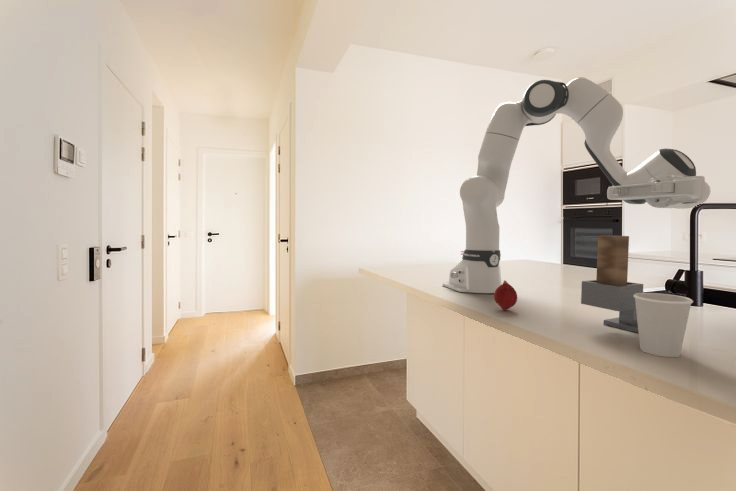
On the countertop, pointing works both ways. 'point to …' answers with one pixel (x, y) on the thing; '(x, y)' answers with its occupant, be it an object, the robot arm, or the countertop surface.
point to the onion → (505, 296)
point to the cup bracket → (614, 301)
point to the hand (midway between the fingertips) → (633, 189)
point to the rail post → (612, 260)
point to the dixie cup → (662, 322)
